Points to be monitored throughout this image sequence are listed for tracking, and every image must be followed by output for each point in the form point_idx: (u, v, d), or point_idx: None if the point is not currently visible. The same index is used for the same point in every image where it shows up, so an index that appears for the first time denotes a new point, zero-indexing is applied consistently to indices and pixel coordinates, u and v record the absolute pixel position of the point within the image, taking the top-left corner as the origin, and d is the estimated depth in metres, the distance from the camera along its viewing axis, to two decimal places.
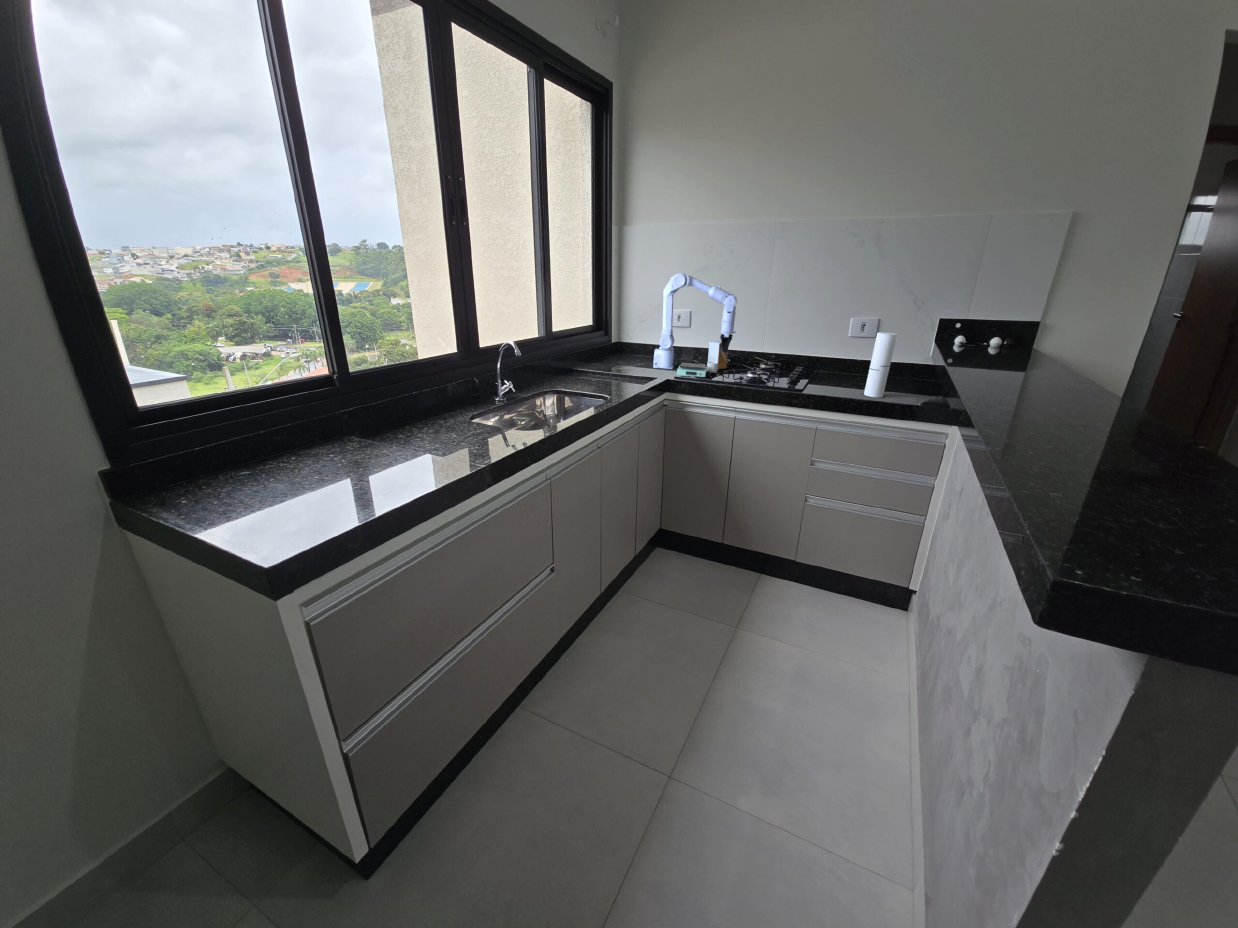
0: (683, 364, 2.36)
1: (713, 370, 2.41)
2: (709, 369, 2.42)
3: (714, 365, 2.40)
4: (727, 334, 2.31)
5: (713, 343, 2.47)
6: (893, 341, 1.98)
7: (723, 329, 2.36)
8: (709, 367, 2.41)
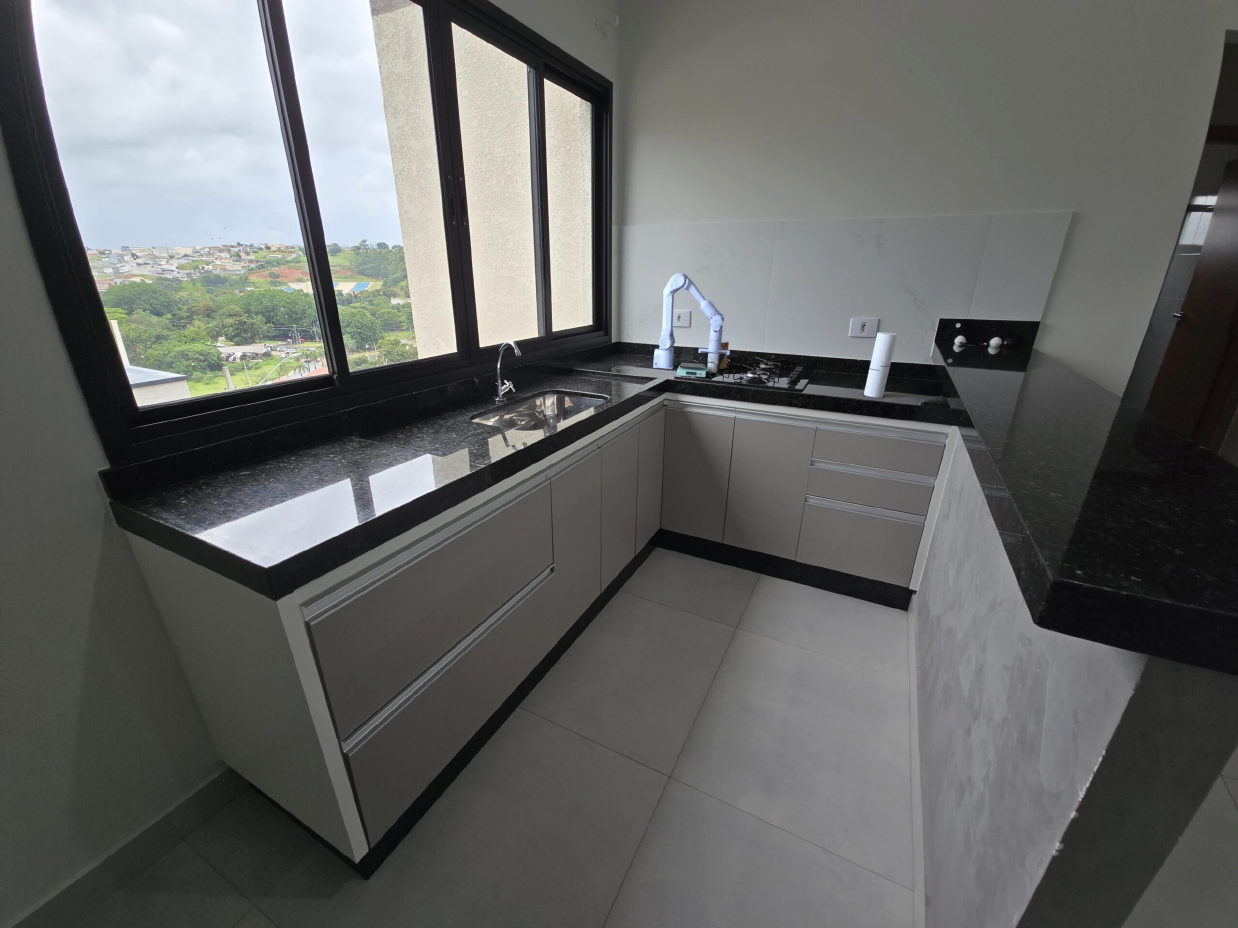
0: (683, 364, 2.36)
1: (713, 370, 2.41)
2: (709, 369, 2.42)
3: (714, 365, 2.40)
4: None
5: None
6: (893, 341, 1.98)
7: None
8: (709, 367, 2.41)
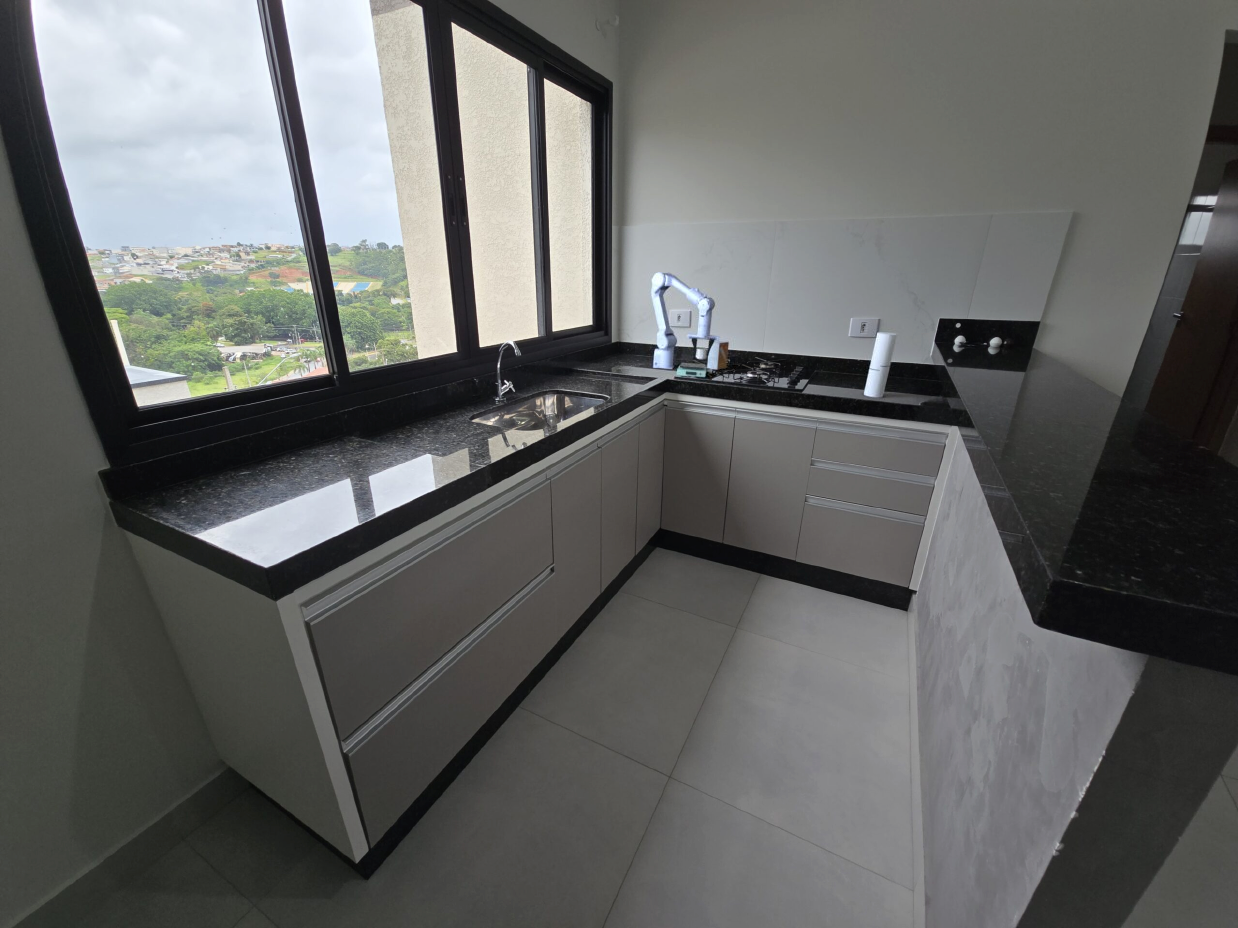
0: (683, 364, 2.36)
1: (702, 356, 2.35)
2: (698, 355, 2.35)
3: (703, 351, 2.34)
4: None
5: (713, 343, 2.47)
6: (893, 341, 1.98)
7: None
8: (698, 353, 2.35)
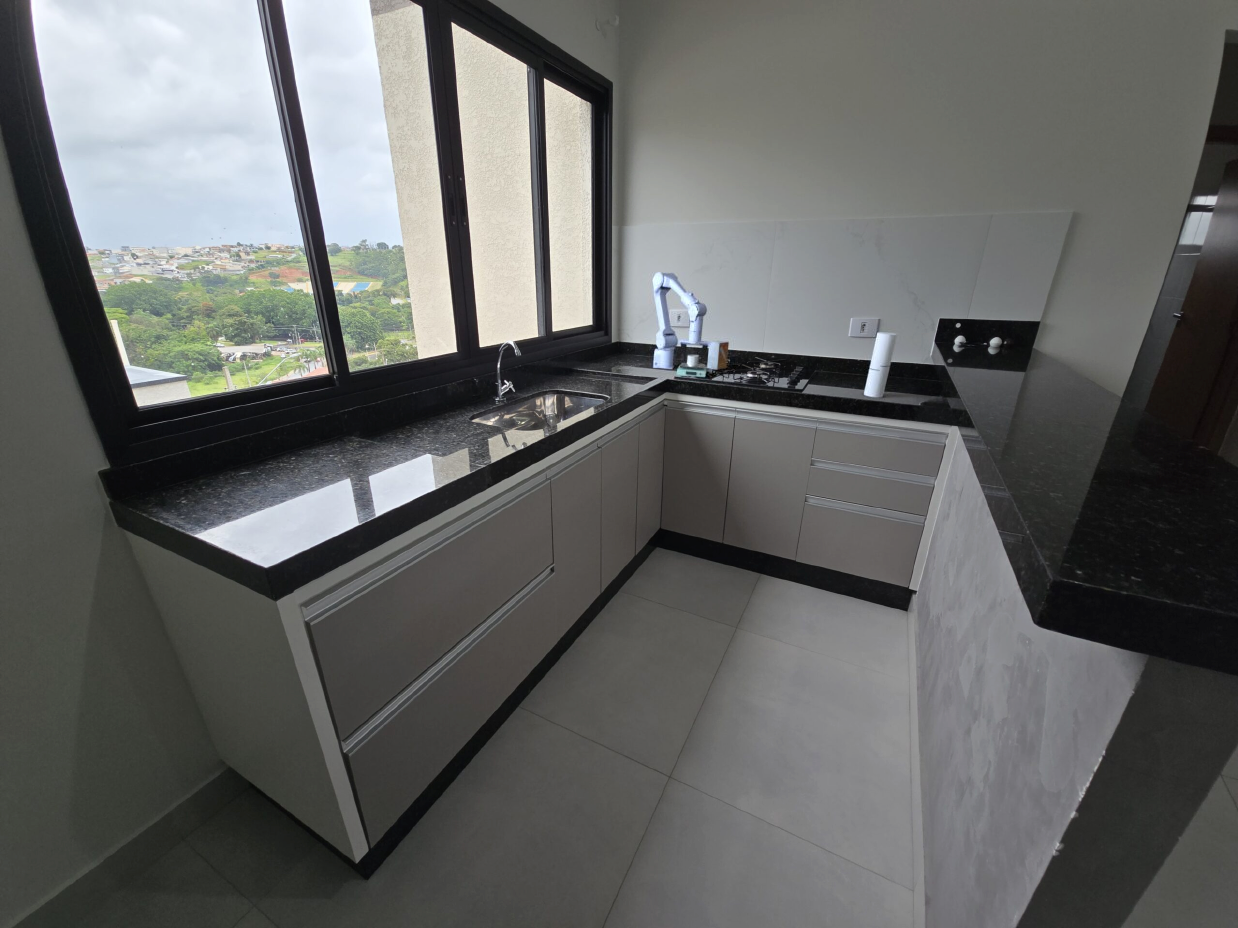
0: (683, 364, 2.36)
1: (693, 363, 2.33)
2: (689, 362, 2.33)
3: (694, 358, 2.32)
4: None
5: (713, 343, 2.47)
6: (893, 341, 1.98)
7: None
8: (689, 360, 2.33)
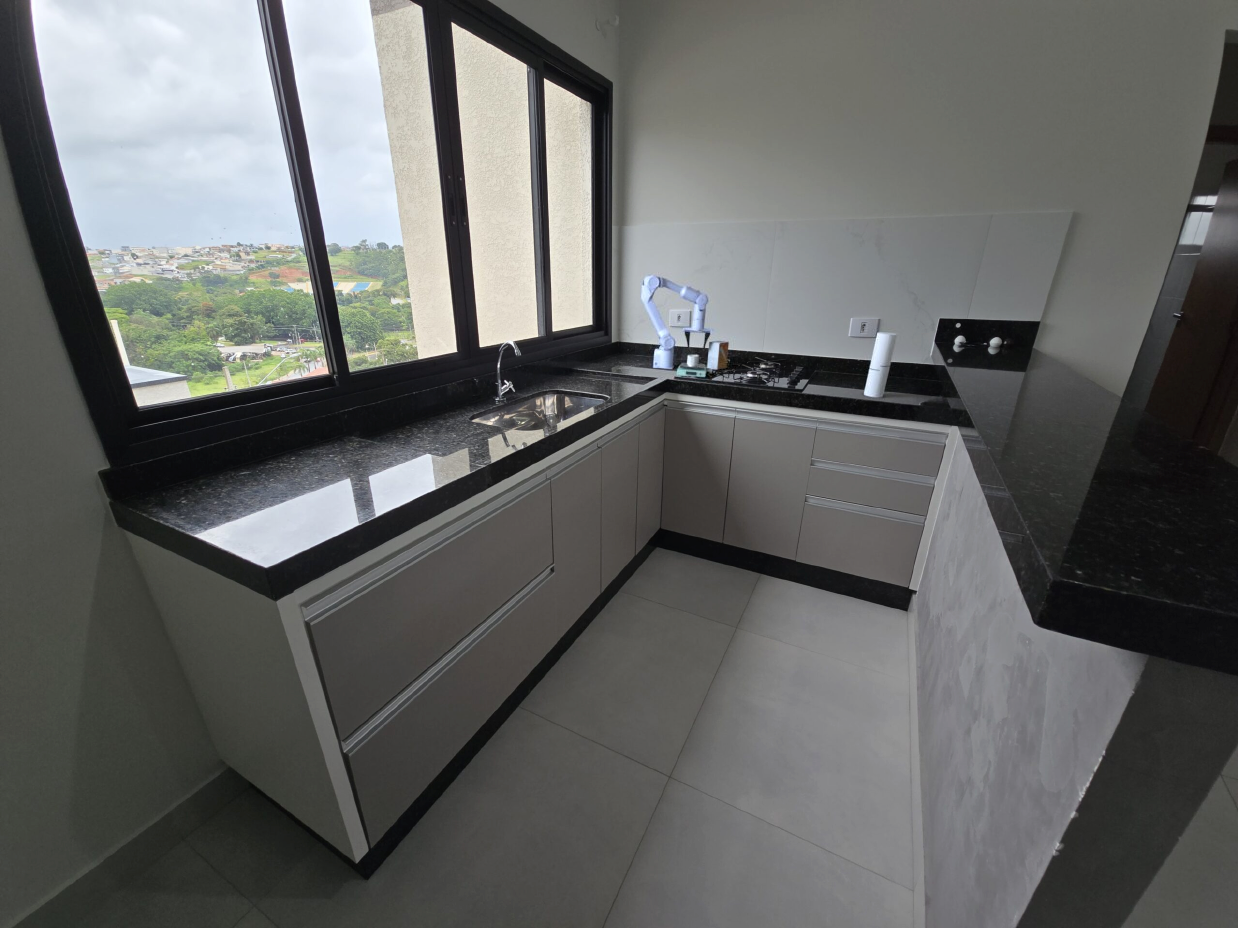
0: (683, 364, 2.36)
1: (693, 363, 2.33)
2: (689, 362, 2.33)
3: (694, 358, 2.32)
4: None
5: (713, 343, 2.47)
6: (893, 341, 1.98)
7: None
8: (689, 360, 2.33)
